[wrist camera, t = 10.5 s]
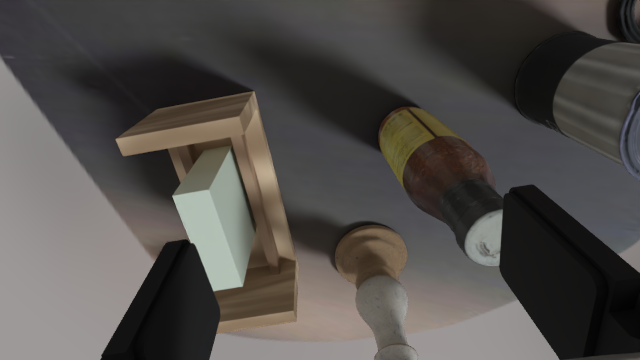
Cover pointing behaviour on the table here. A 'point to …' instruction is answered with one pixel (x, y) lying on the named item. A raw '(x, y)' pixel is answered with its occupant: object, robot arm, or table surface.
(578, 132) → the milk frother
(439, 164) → the sauce bottle
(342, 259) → the candle holder
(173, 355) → the robot arm
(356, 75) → the table surface
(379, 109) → the table surface
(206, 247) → the rectangular block
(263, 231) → the track
